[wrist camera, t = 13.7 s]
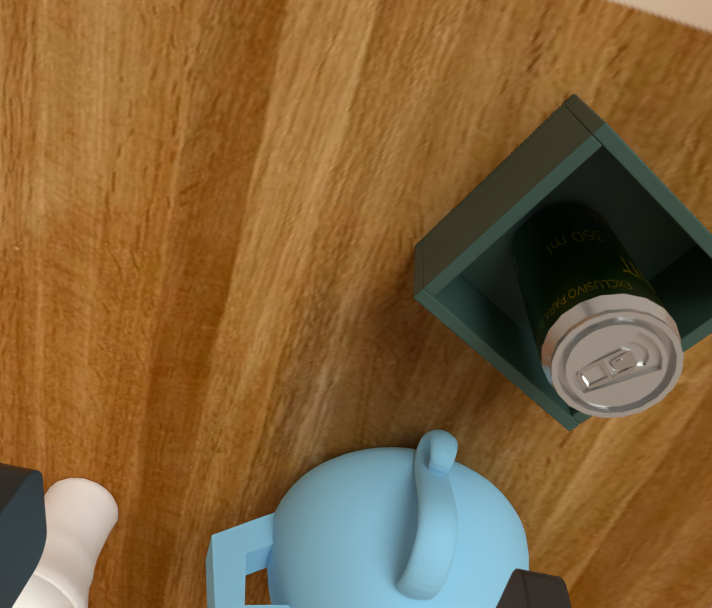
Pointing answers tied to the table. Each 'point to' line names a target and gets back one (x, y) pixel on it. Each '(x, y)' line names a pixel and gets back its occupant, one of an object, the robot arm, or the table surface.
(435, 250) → the open box
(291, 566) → the teapot
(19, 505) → the robot arm
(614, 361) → the beer can
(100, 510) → the cup
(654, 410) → the table surface
